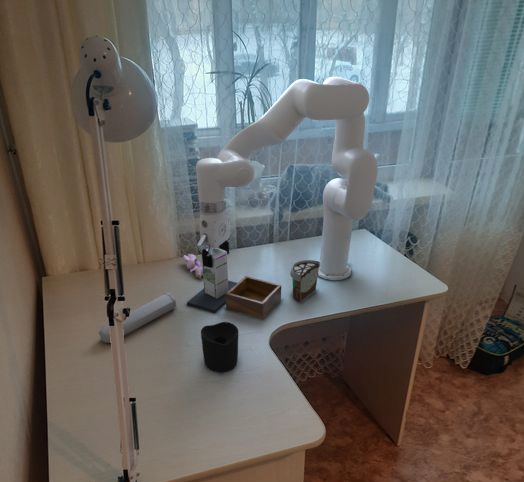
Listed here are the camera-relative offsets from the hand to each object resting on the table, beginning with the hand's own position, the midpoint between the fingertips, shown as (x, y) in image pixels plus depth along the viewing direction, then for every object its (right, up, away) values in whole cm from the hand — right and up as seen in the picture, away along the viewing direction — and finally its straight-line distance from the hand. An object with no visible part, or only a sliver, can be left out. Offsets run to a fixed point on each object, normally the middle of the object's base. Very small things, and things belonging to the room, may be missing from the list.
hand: (216, 259), depth 151 cm
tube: (-22, -20, -7) cm, 31 cm away
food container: (+26, -9, +9) cm, 29 cm away
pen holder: (+3, -31, -20) cm, 37 cm away
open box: (+11, -13, +3) cm, 18 cm away
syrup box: (-1, -9, +7) cm, 12 cm away
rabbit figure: (-9, 0, +21) cm, 23 cm away
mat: (-1, -10, +7) cm, 13 cm away
